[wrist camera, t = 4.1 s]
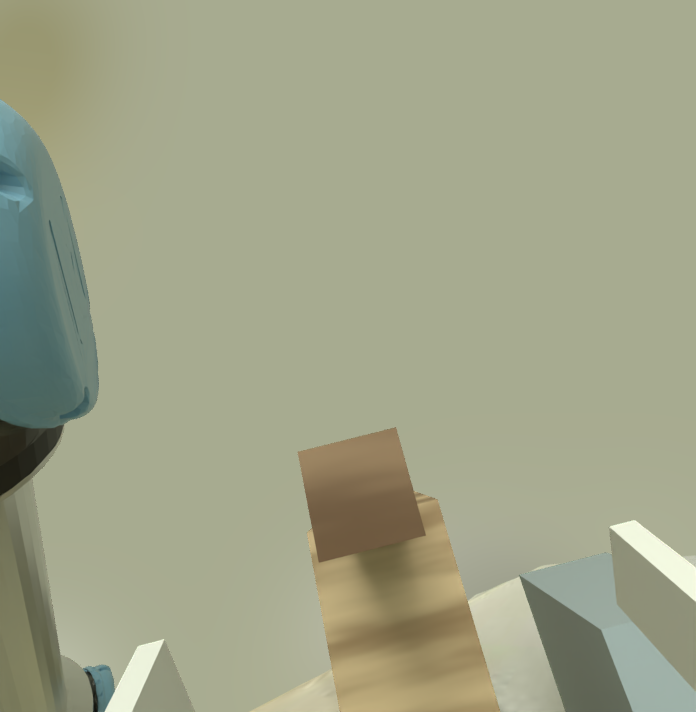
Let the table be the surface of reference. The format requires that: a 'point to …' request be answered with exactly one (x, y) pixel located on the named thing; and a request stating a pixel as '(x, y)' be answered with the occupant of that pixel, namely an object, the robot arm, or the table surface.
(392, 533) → the walnut block
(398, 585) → the tall stand
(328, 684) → the table surface
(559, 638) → the base block
